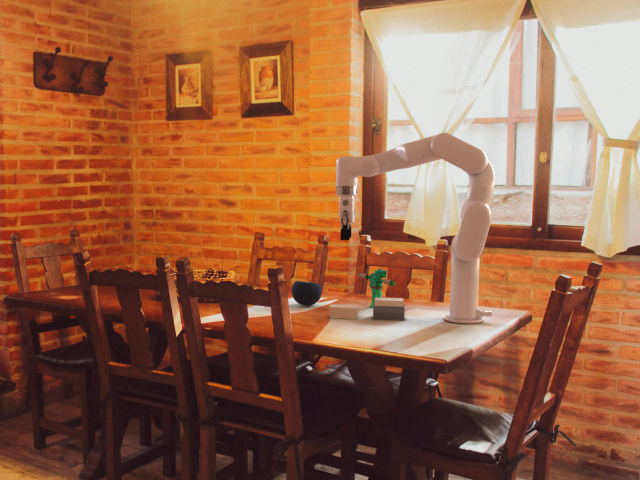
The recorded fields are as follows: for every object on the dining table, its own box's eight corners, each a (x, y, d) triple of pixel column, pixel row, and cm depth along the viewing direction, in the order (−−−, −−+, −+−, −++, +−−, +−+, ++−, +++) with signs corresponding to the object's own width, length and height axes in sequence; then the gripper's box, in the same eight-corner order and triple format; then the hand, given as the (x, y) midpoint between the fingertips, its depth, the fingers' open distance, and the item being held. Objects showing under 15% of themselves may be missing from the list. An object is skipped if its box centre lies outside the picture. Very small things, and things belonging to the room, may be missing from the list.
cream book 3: (403, 303, 270) (403, 298, 270) (403, 306, 265) (403, 301, 264) (375, 302, 272) (375, 297, 272) (374, 305, 267) (374, 300, 266)
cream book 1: (358, 310, 274) (358, 305, 274) (357, 313, 268) (357, 308, 268) (330, 309, 276) (330, 304, 276) (329, 312, 270) (329, 307, 270)
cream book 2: (358, 315, 274) (358, 310, 274) (357, 318, 268) (357, 313, 268) (330, 314, 276) (330, 309, 276) (329, 317, 271) (329, 312, 270)
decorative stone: (320, 308, 288) (321, 283, 287) (290, 308, 290) (290, 282, 289) (322, 303, 300) (322, 278, 299) (292, 302, 302) (292, 278, 300)
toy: (404, 313, 279) (405, 273, 277) (390, 314, 276) (390, 274, 274) (368, 302, 302) (368, 265, 301) (354, 303, 300) (354, 266, 298)
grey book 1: (404, 310, 270) (404, 304, 270) (404, 313, 265) (404, 306, 265) (373, 309, 272) (373, 303, 272) (373, 312, 268) (373, 305, 267)
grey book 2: (404, 317, 270) (404, 310, 270) (404, 320, 266) (404, 313, 265) (373, 316, 273) (373, 309, 272) (372, 319, 268) (373, 312, 268)
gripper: (355, 192, 258) (355, 241, 260) (358, 190, 275) (357, 237, 277) (334, 192, 260) (333, 241, 262) (337, 190, 276) (337, 236, 279)
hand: (345, 239), depth 269 cm, fingers open, 9 cm apart
